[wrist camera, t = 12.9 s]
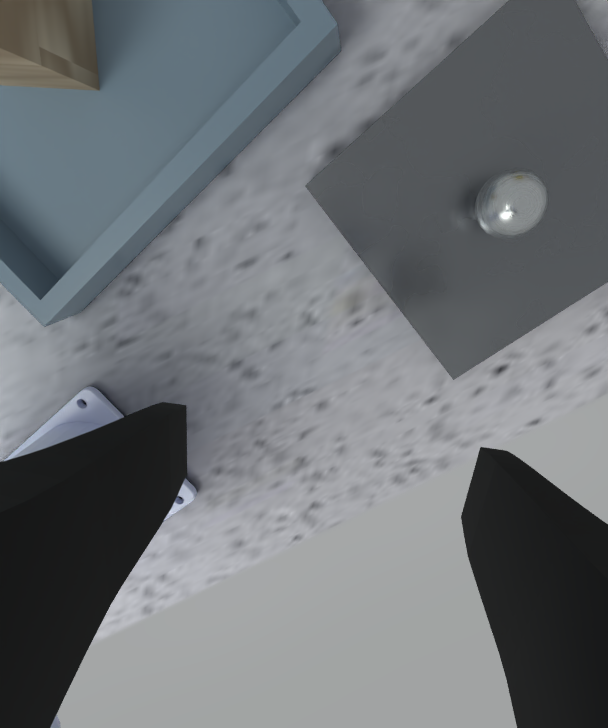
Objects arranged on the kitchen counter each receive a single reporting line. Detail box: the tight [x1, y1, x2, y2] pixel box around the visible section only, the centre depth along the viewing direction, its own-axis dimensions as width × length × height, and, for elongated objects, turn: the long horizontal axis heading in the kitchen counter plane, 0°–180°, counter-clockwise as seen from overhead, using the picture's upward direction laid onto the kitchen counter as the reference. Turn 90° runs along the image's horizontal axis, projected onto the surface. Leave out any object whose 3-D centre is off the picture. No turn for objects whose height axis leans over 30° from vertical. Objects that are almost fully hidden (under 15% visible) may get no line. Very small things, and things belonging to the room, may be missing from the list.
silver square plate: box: [306, 0, 608, 380], centre depth 15 cm, size 10×10×4 cm
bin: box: [0, 0, 341, 327], centre depth 15 cm, size 16×16×2 cm
